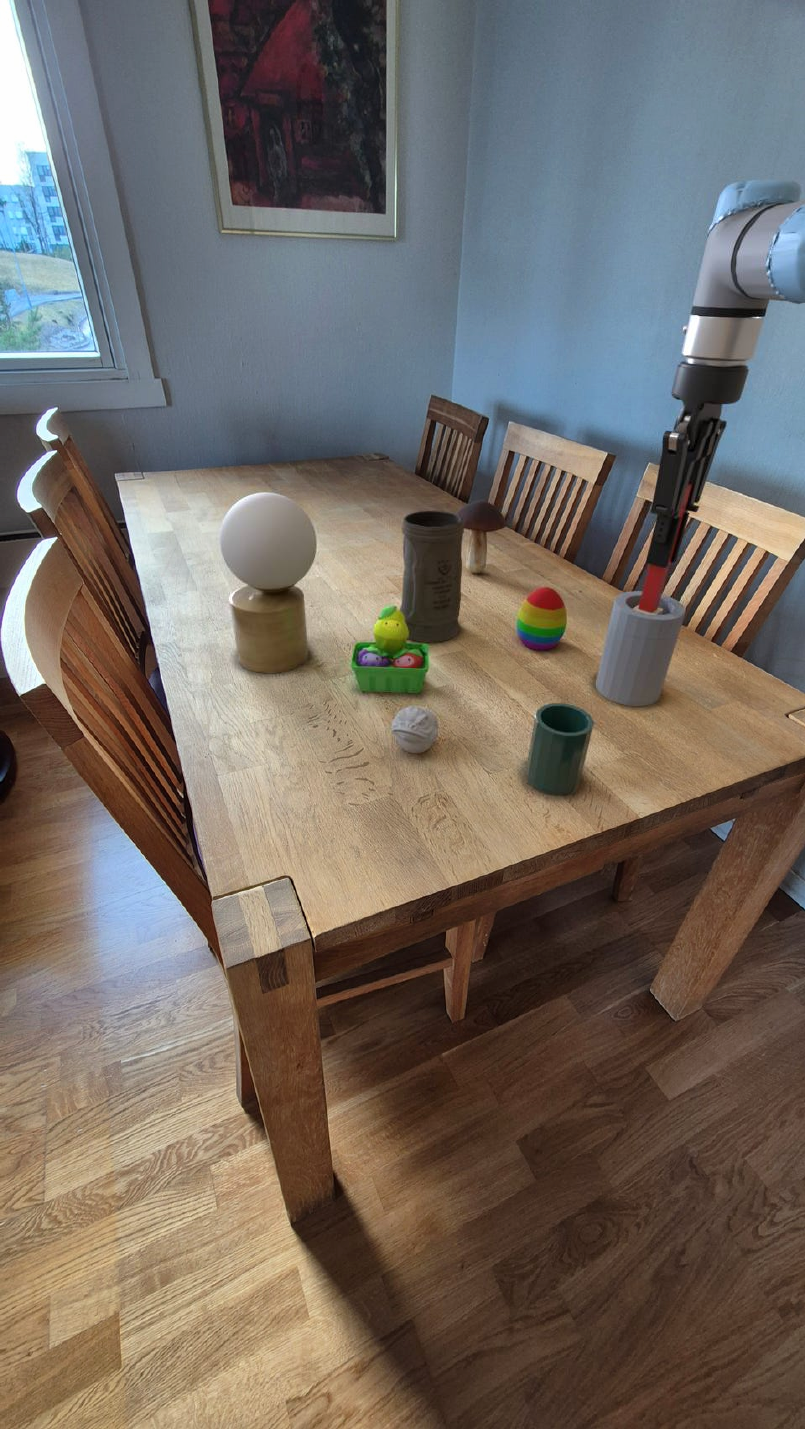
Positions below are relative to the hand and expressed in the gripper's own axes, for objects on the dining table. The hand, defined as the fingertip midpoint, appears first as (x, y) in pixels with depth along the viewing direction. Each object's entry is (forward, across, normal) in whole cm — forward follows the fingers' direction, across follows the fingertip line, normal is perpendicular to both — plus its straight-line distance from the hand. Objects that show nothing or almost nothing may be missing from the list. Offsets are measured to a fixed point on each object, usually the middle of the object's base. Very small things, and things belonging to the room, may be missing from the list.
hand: (660, 561), depth 84 cm
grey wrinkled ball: (+20, +34, -13) cm, 42 cm away
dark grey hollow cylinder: (+20, +6, -37) cm, 43 cm away
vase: (+20, 0, 0) cm, 20 cm away
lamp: (+20, +30, -47) cm, 59 cm away
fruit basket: (+20, +24, -27) cm, 42 cm away
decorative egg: (+20, -3, -18) cm, 27 cm away
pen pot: (+20, +26, +3) cm, 33 cm away
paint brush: (+12, 0, 0) cm, 12 cm away
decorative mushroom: (+21, -20, -45) cm, 53 cm away
